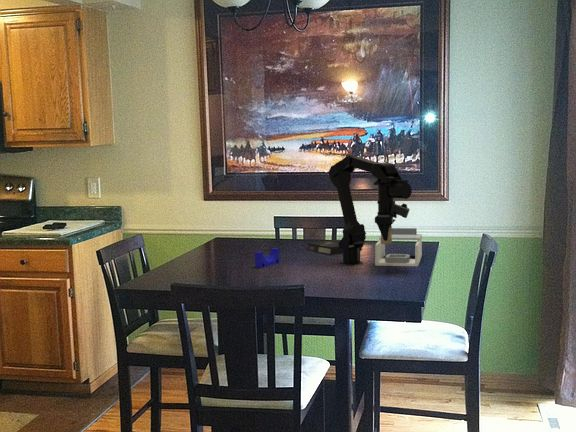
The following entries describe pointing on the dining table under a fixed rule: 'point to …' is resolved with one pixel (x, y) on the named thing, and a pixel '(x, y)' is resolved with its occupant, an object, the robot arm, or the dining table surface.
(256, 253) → the cable clip
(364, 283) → the dining table surface
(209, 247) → the dining table surface
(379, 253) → the housing
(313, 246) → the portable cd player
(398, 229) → the lid
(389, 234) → the jaw peg
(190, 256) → the dining table surface
